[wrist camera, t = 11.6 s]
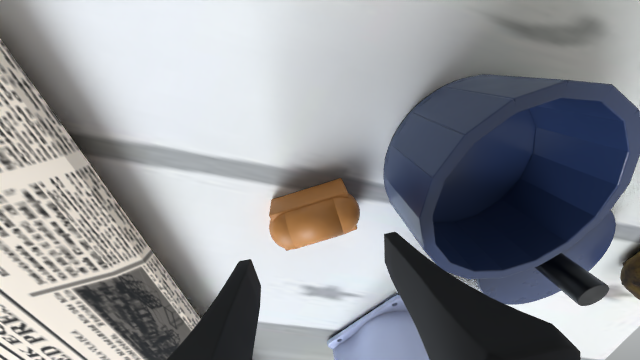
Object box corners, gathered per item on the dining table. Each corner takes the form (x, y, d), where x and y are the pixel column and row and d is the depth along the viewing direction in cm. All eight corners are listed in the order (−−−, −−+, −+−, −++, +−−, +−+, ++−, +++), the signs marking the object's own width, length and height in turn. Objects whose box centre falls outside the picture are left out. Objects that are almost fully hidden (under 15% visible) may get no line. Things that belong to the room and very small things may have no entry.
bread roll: (280, 234, 18) (278, 265, 16) (264, 201, 17) (259, 228, 14) (357, 211, 18) (369, 238, 15) (348, 175, 17) (359, 197, 14)
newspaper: (257, 384, 27) (253, 416, 25) (91, 424, 27) (71, 461, 25) (-11, -12, 10) (-105, -35, 8) (-453, 87, 10) (-689, 95, 8)
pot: (462, 241, 21) (515, 296, 16) (353, 196, 18) (378, 248, 13) (569, 124, 17) (683, 150, 12) (455, 37, 14) (549, 23, 9)
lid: (525, 305, 27) (572, 353, 22) (445, 278, 23) (482, 329, 18) (626, 221, 22) (709, 260, 18) (547, 171, 19) (626, 205, 14)
